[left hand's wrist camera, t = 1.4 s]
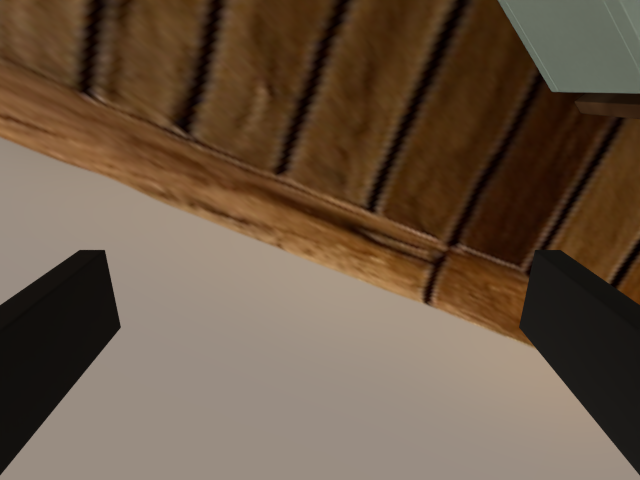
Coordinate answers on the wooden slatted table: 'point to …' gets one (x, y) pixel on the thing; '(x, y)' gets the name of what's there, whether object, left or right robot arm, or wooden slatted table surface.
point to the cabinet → (581, 42)
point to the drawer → (610, 104)
